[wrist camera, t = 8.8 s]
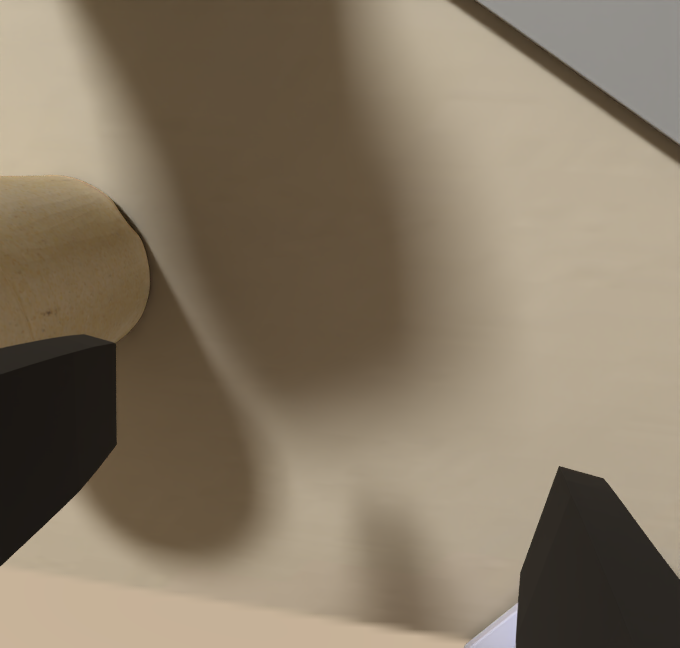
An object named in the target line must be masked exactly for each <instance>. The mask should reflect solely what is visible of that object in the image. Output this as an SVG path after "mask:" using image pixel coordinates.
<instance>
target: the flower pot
mask: <svg viewBox="0 0 680 648" xmlns="http://www.w3.org/2000/svg"><path fill="white" fill-rule="evenodd" d="M149 288H150V272H149V265H148V260H147V255H146V252H145V249H144V246H143V243H142V241H141V239H140V237H139V236H138V235H137V233H136V232H135V231H134V230H133V229H132V228H131V227H130V225H129V224H128V223H127V221H126V220H125V219H124V217H123V216H122V214H121V213H120V211H119V210H118V208H117V207H116V205H115V204H114V202H113V200H112V199H110V198H109V197H108V196H107V195H106V194H104V193H103V192H102V191H100V190H99V189H97V188H95V187H94V186H92V185H90V184H88V183H86V182H84V181H81V180H78V179H75V178H72V177H67V176H60V175H46V176H0V348H3V347H8V346H13V345H18V344H23V343H28V342H33V341H38V340H44V339H49V338H56V337H62V336H70V335H80V334H85V335H89V336H93V337H96V338H100V339H103V340H107V341H111V342H114V343H116V342H117V341H119V340H120V339H122V338H123V337H124V336H125V335H126V334H127V333H128V332H129V331H130V330H131V329H132V328H133V327H134V326H135V325H136V323H137V322H138V321H139V319H140V318H141V316H142V314H143V312H144V309H145V306H146V303H147V300H148V295H149Z"/></svg>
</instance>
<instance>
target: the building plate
mask: <svg viewBox="0 0 680 648" xmlns="http://www.w3.org/2000/svg"><path fill="white" fill-rule="evenodd" d="M475 1H476V2H477V3H479V4H480V5H482V6H483V7H485V8H486V9H487V10H489V11H490V12H492V13H493V14H494V15H496V16H497V17H499V18H500V19H501V20H503V21H504V22H506V23H507V24H509V25H510V26H511V27H513V28H514V29H516V30H517V31H518V32H520V33H521V34H523V35H524V36H525V37H527V38H528V39H530V40H531V41H532V42H534V43H535V44H537V45H538V46H540V47H541V48H542V49H544V50H545V51H547V52H548V53H549V54H551V55H552V56H554V57H555V58H556V59H558V60H559V61H561V62H562V63H564V64H565V65H566V66H568V67H569V68H571V69H572V70H573V71H575V72H576V73H578V74H579V75H580V76H582V77H583V78H585V79H586V80H587V81H589V82H590V83H592V84H593V85H595V86H596V87H597V88H599V89H600V90H602V91H603V92H604V93H606V94H607V95H609V96H610V97H611V98H613V99H614V100H616V101H617V102H619V103H620V104H621V105H623V106H624V107H626V108H627V109H628V110H630V111H631V112H633V113H634V114H635V115H637V116H638V117H640V118H641V119H642V120H644V121H645V122H647V123H648V124H650V125H651V126H652V127H654V128H655V129H657V130H658V131H659V132H661V133H662V134H664V135H665V136H666V137H668V138H669V139H671V140H672V141H674V142H675V143H676V144H678V145H679V146H680V0H475Z"/></svg>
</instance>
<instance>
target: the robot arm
mask: <svg viewBox="0 0 680 648" xmlns="http://www.w3.org/2000/svg"><path fill="white" fill-rule="evenodd" d="M116 445H117V440H116V343H114V342H111V341H107V340H103V339H100V338H96V337H93V336H89V335H85V334H80V335H70V336H62V337H56V338H49V339H44V340H38V341H33V342H28V343H23V344H18V345H13V346H8V347H3V348H0V566H1V565H2V564H3V563H4V562H6V561H7V560H8V559H9V558H10V557H11V556H12V555H13V554H14V553H15V552H16V551H17V550H18V549H19V548H20V547H22V546H23V545H24V544H25V543H26V542H27V541H28V540H29V539H30V538H31V537H32V536H33V535H34V534H35V533H36V532H38V531H39V530H40V529H41V528H42V527H43V526H44V525H45V524H46V523H47V522H48V521H49V520H50V519H51V518H52V517H53V516H54V515H55V514H56V513H57V512H59V511H60V510H61V509H62V508H63V507H64V506H65V505H66V504H67V503H68V502H69V501H70V500H71V499H72V498H73V497H74V496H75V495H76V494H77V493H78V492H79V491H80V490H81V489H82V487H83V486H84V485H85V484H86V483H87V481H88V480H89V479H90V478H91V477H92V475H93V474H94V473H95V472H96V471H97V469H98V468H99V467H100V466H101V464H102V463H103V462H104V460H105V459H106V458H107V456H108V455H109V454H110V453H111V451H112V450H113V449H114V447H115V446H116ZM464 648H680V579H679V578H678V577H677V576H676V574H675V573H674V572H673V570H672V569H671V568H670V566H669V565H668V564H667V562H666V561H665V560H664V558H663V557H662V556H661V555H660V553H659V552H658V551H657V549H656V548H655V547H654V545H653V544H652V542H651V541H650V540H649V538H648V537H647V536H646V534H645V533H644V532H643V530H642V529H641V528H640V526H639V525H638V523H637V522H636V521H635V519H634V518H633V517H632V515H631V514H630V513H629V511H628V510H627V508H626V507H625V506H624V504H623V503H622V502H621V500H620V499H619V498H618V496H617V495H616V494H615V492H614V491H613V490H612V488H611V487H610V486H609V485H608V483H607V482H606V481H605V480H604V479H603V478H600V477H596V476H593V475H589V474H585V473H582V472H578V471H575V470H571V469H568V468H564V467H560V466H559V468H558V471H557V473H556V476H555V479H554V482H553V484H552V487H551V490H550V493H549V495H548V498H547V501H546V504H545V506H544V509H543V512H542V515H541V517H540V520H539V523H538V526H537V528H536V531H535V534H534V537H533V539H532V542H531V545H530V548H529V550H528V553H527V556H526V559H525V561H524V564H523V567H522V570H521V572H520V585H519V597H518V603H517V604H515V605H514V606H513V607H512V608H510V609H509V610H508V611H507V612H505V613H504V614H503V615H502V616H500V617H499V618H498V619H497V620H495V621H494V622H493V623H492V624H490V625H489V626H488V627H487V628H485V629H484V630H483V631H482V632H480V633H479V634H478V635H476V636H475V637H474V638H473V639H471V640H470V641H469V642H468V643H466V645H465V646H464Z"/></svg>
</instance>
